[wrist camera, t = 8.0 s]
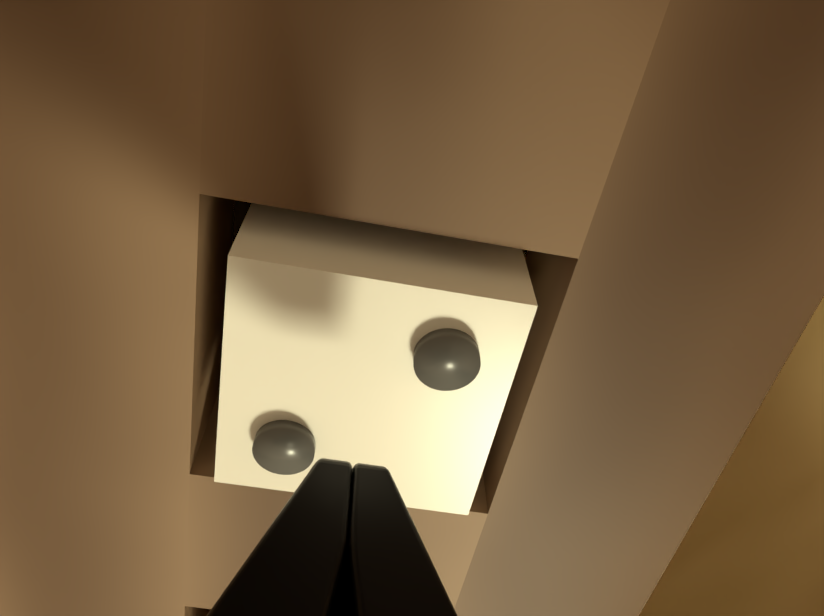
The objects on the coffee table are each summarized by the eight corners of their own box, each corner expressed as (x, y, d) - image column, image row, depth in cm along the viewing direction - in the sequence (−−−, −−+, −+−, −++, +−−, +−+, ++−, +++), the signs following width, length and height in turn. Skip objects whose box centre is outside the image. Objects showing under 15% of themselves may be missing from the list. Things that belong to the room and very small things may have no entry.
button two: (515, 225, 11) (540, 314, 9) (459, 415, 14) (469, 525, 11) (261, 180, 11) (223, 263, 9) (245, 384, 13) (210, 491, 11)
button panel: (1204, -719, 7) (1554, -970, 5) (515, 706, 20) (527, 807, 18) (-131, -1174, 6) (-455, -1783, 4) (67, 659, 19) (25, 761, 17)
